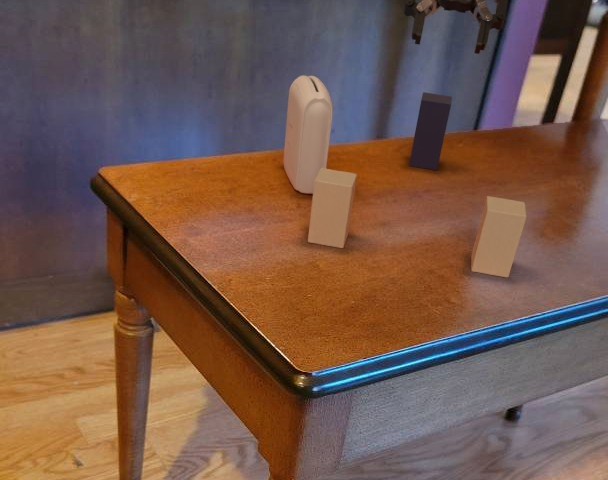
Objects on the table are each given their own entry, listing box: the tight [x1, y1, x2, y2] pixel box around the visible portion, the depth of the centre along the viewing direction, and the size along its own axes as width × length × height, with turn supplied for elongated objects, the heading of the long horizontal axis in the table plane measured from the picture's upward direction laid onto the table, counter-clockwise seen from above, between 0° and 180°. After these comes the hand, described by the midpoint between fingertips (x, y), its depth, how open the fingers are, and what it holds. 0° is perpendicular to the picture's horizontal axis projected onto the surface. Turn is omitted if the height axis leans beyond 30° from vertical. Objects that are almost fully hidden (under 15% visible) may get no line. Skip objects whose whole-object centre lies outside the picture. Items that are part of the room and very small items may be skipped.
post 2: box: [470, 195, 527, 279], centre depth 79 cm, size 4×4×7 cm
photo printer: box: [283, 75, 334, 195], centre depth 92 cm, size 10×4×12 cm, turn 11°
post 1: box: [307, 168, 358, 249], centre depth 80 cm, size 4×4×7 cm
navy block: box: [408, 91, 453, 171], centre depth 103 cm, size 4×4×9 cm
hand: (447, 45), depth 105 cm, fingers open, 8 cm apart
